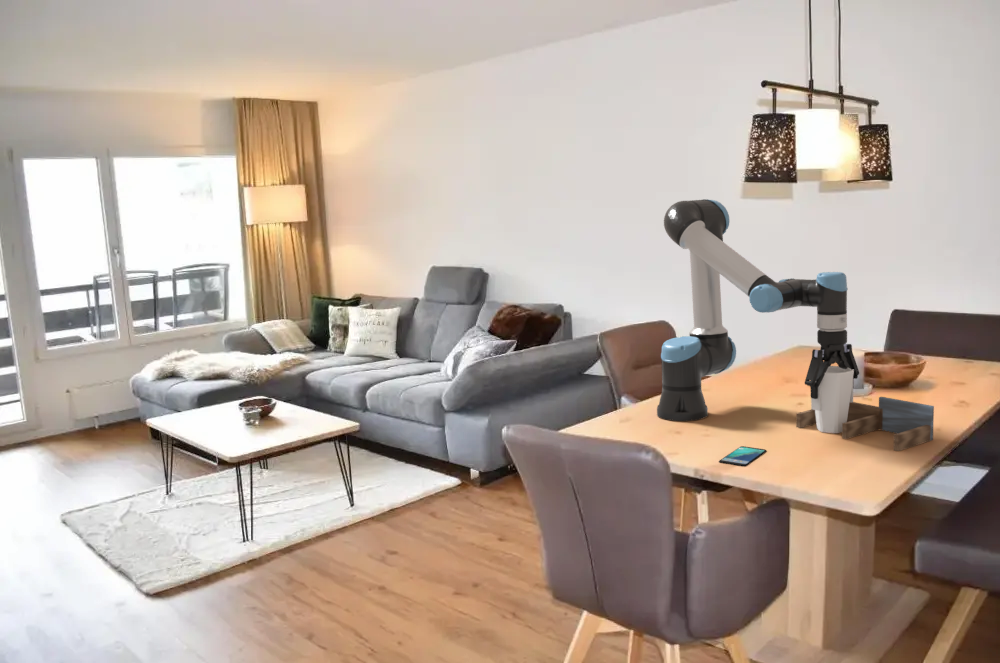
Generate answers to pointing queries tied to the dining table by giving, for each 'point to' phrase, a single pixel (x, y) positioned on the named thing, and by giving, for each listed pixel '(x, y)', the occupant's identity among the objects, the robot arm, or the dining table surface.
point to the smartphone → (742, 456)
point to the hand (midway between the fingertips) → (832, 405)
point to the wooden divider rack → (884, 421)
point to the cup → (834, 399)
